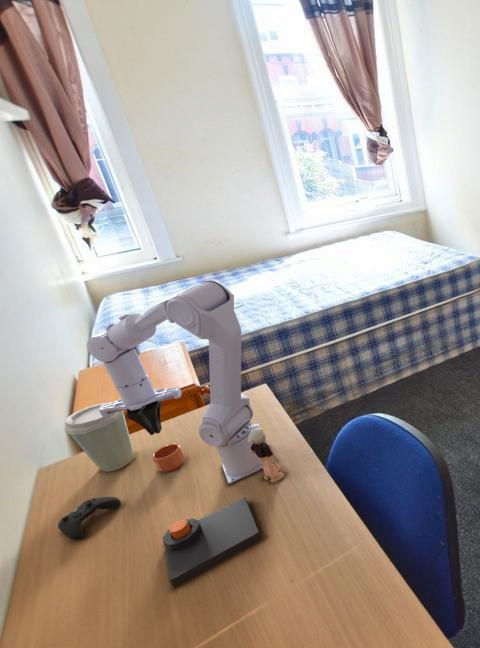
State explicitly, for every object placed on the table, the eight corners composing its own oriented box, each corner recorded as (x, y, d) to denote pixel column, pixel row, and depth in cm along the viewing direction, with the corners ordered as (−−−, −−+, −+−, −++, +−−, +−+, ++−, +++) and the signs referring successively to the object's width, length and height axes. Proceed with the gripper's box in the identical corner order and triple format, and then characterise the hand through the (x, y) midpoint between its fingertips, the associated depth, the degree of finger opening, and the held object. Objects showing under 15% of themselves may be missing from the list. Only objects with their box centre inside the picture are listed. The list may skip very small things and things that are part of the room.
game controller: (78, 539, 90) (50, 521, 89) (72, 551, 92) (45, 533, 91) (125, 500, 99) (100, 483, 98) (118, 512, 101) (94, 496, 100)
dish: (184, 453, 113) (178, 440, 111) (186, 464, 109) (180, 451, 108) (158, 464, 110) (151, 451, 108) (160, 476, 106) (153, 462, 105)
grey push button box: (248, 503, 96) (242, 490, 95) (261, 539, 87) (256, 525, 86) (167, 544, 88) (160, 530, 87) (174, 588, 79) (166, 574, 78)
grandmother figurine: (292, 472, 103) (275, 426, 98) (279, 485, 100) (261, 437, 95) (265, 466, 106) (248, 421, 101) (252, 479, 103) (233, 432, 97)
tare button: (189, 523, 88) (186, 516, 87) (191, 532, 86) (188, 525, 85) (172, 532, 87) (168, 525, 86) (173, 541, 85) (170, 534, 84)
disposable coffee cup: (119, 447, 118) (93, 397, 112) (156, 448, 116) (131, 397, 110) (78, 478, 108) (47, 425, 102) (118, 479, 106) (88, 426, 101)
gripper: (83, 399, 95) (111, 452, 100) (165, 380, 99) (188, 431, 105) (96, 383, 101) (123, 433, 106) (173, 365, 105) (195, 414, 111)
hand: (156, 431), depth 106 cm, fingers closed
